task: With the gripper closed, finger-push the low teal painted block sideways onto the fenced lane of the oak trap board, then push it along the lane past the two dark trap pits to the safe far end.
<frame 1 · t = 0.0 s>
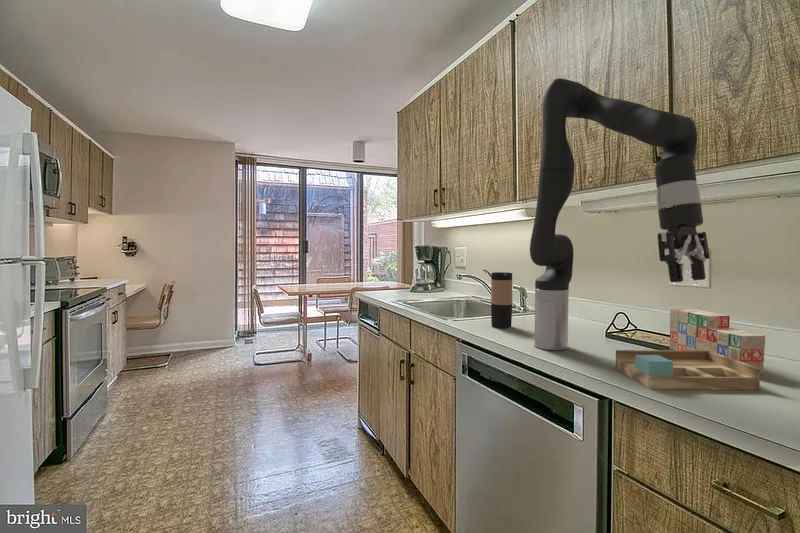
hand: (688, 280, 82), 22 cm above the worktop, tool pointing down, fingers open, 8 cm apart
trap board: (682, 378, 87), on the worktop
stack of blocks: (711, 362, 100), on the worktop
block: (653, 371, 84), point 2 cm above the worktop, touching trap board
travel mug: (501, 327, 145), on the worktop
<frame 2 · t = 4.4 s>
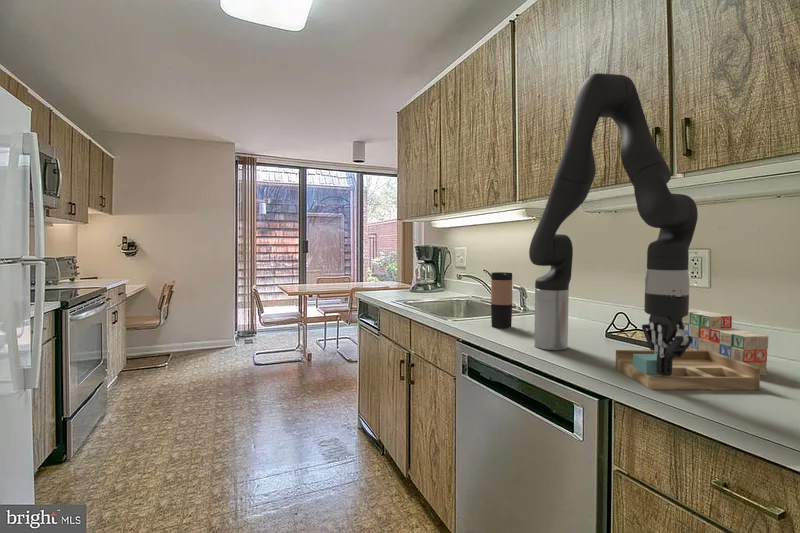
hand: (664, 374, 81), 3 cm above the worktop, tool pointing down, fingers closed
block: (650, 370, 85), point 2 cm above the worktop, touching gripper, trap board
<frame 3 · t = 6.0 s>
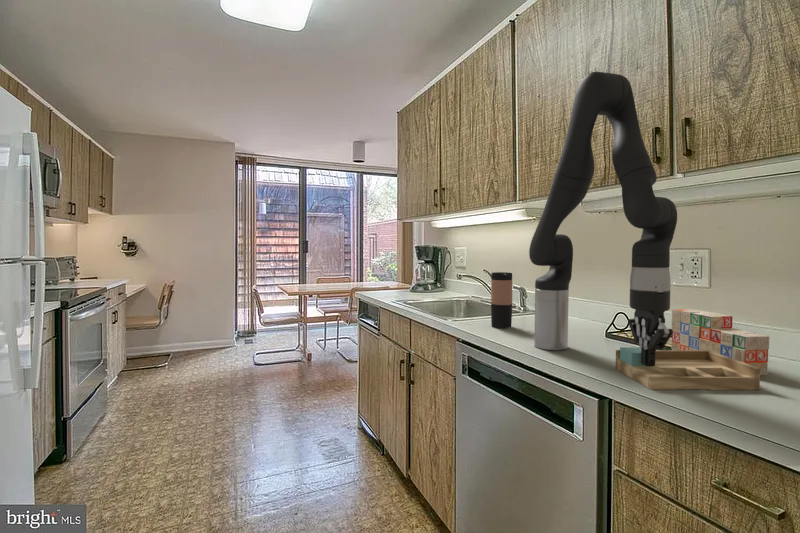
hand: (648, 365, 86), 3 cm above the worktop, tool pointing down, fingers closed
block: (636, 362, 91), point 3 cm above the worktop, touching gripper, trap board
everything else where it was.
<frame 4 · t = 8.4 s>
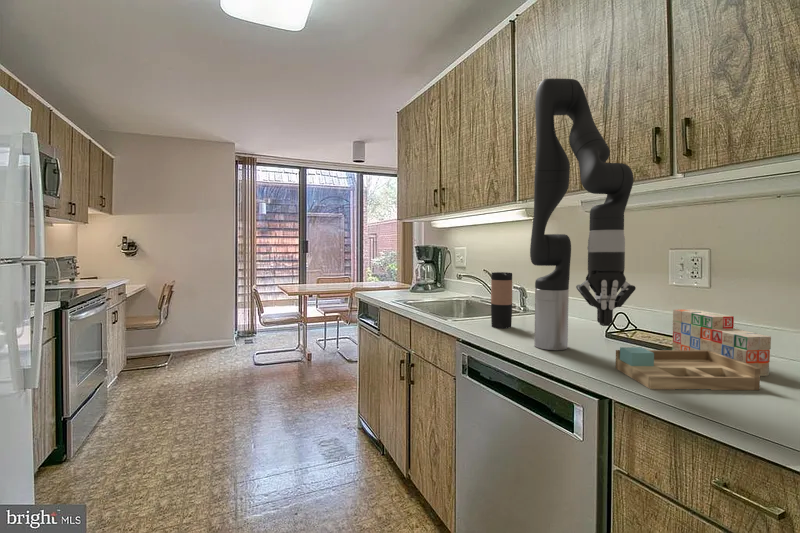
hand: (604, 325, 90), 11 cm above the worktop, tool pointing down, fingers closed
block: (636, 362, 91), point 2 cm above the worktop, touching trap board
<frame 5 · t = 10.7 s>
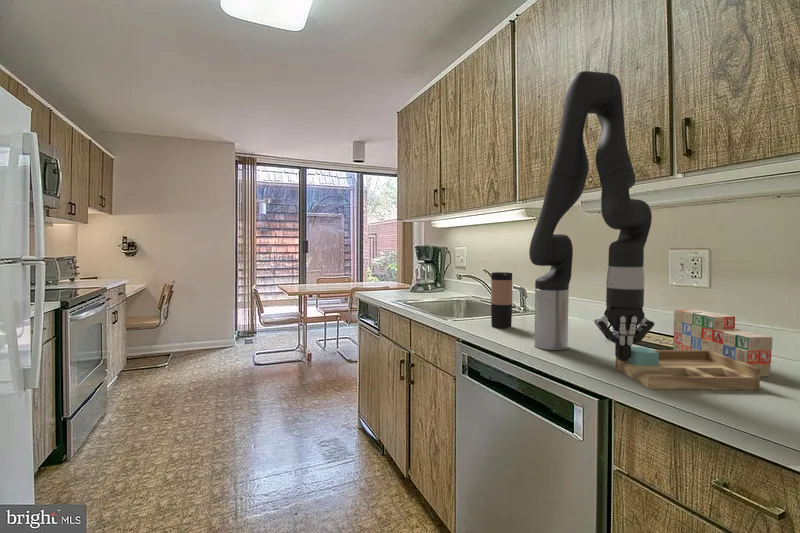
hand: (622, 360, 91), 3 cm above the worktop, tool pointing down, fingers closed
block: (640, 362, 91), point 3 cm above the worktop, touching gripper, trap board
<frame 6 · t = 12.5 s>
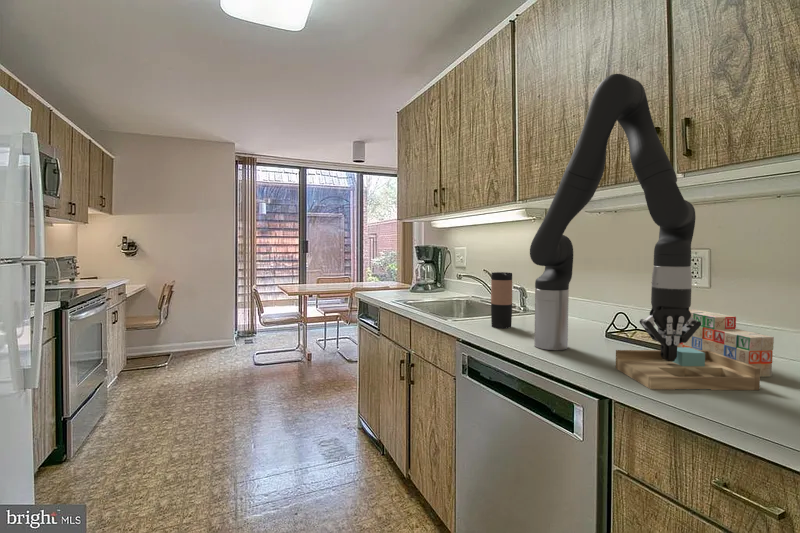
hand: (668, 360, 90), 3 cm above the worktop, tool pointing down, fingers closed
block: (685, 362, 91), point 3 cm above the worktop, touching gripper
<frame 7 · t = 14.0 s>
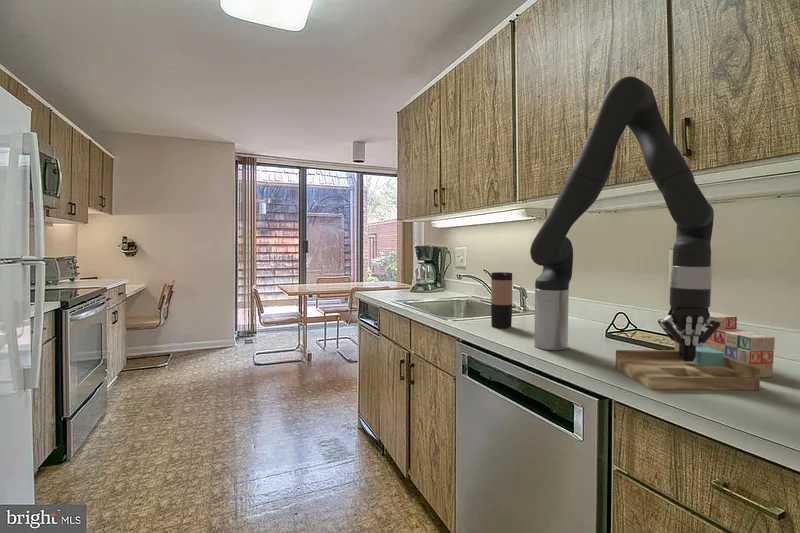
hand: (687, 360, 90), 3 cm above the worktop, tool pointing down, fingers closed
block: (704, 362, 91), point 3 cm above the worktop, touching gripper, trap board
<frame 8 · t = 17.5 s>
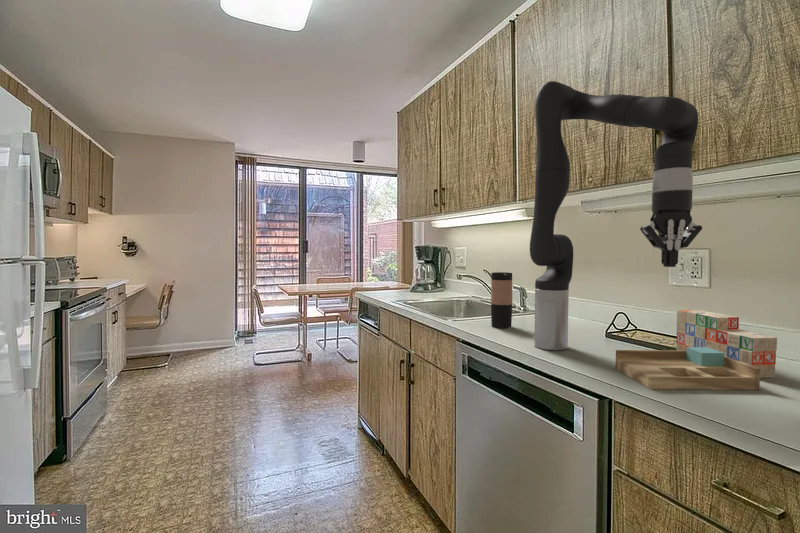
hand: (669, 266, 89), 25 cm above the worktop, tool pointing down, fingers closed
block: (704, 362, 91), point 2 cm above the worktop, touching trap board
at the end: block inside the target area (0.7 cm from its centre), point 2.5 cm above the worktop; block tilted 0° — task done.
